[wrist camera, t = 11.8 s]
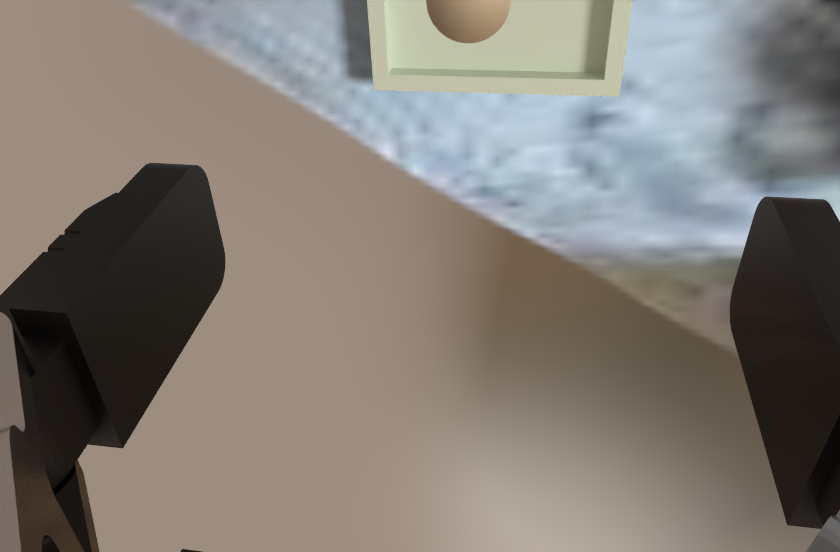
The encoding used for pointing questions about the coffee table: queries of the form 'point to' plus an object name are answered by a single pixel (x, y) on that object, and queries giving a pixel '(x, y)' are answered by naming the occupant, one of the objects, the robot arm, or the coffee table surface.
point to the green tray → (504, 49)
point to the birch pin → (468, 18)
